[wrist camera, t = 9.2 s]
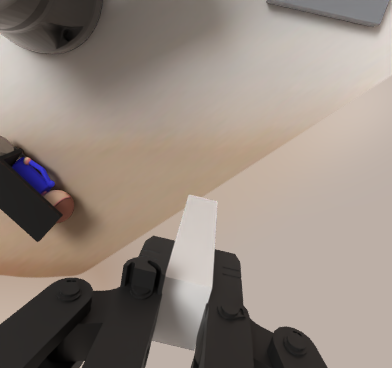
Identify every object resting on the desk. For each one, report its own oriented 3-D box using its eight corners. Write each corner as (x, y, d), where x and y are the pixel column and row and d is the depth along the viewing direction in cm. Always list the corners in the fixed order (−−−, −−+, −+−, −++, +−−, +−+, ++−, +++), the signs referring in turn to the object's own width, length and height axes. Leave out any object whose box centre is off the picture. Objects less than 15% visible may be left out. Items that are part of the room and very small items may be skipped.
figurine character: (-4, 159, 50) (65, 225, 50) (-49, 169, 42) (33, 246, 43) (17, 129, 48) (89, 198, 48) (-26, 133, 40) (60, 215, 41)
